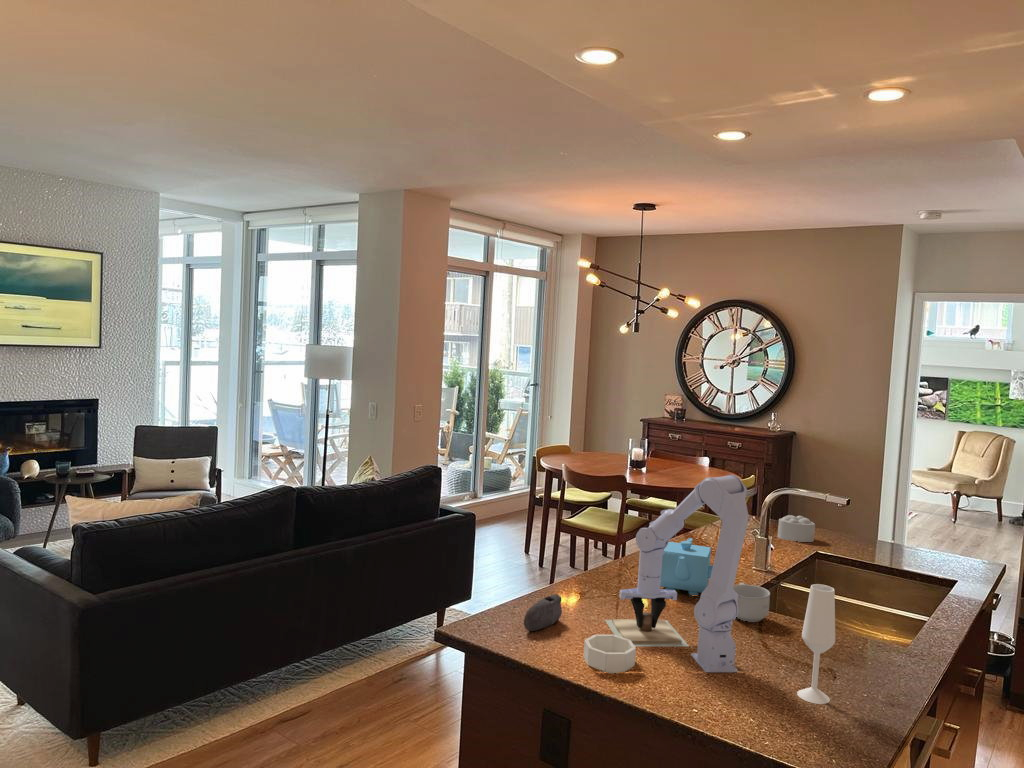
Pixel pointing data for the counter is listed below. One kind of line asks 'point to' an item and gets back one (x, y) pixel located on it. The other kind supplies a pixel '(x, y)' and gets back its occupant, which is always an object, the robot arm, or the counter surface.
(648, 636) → the cover
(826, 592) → the champagne flute
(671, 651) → the counter surface
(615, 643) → the bowl
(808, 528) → the lumpy-topped squat cylinder
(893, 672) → the counter surface
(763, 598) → the teacup
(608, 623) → the mat
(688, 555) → the teakettle
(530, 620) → the perforated stone tool
